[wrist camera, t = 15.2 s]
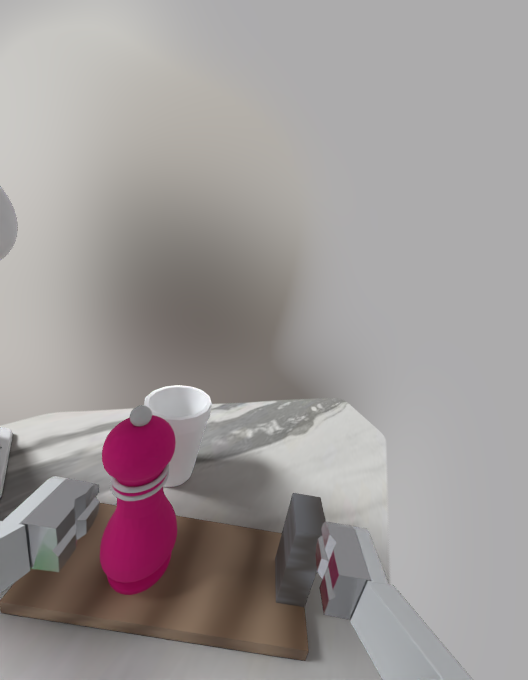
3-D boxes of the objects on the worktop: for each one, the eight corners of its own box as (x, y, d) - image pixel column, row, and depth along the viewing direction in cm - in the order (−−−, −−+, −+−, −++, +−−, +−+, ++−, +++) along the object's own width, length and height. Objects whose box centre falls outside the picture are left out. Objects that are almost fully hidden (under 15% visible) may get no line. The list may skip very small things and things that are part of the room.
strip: (0, 612, 22) (-17, 517, 19) (83, 509, 32) (80, 434, 29) (304, 660, 23) (337, 575, 19) (295, 544, 32) (315, 474, 29)
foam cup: (160, 444, 45) (164, 380, 41) (209, 455, 44) (218, 392, 41) (127, 488, 35) (129, 411, 32) (188, 503, 35) (197, 426, 31)
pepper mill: (179, 529, 31) (188, 388, 25) (169, 603, 24) (178, 434, 19) (117, 534, 29) (111, 385, 24) (87, 615, 23) (70, 434, 17)
